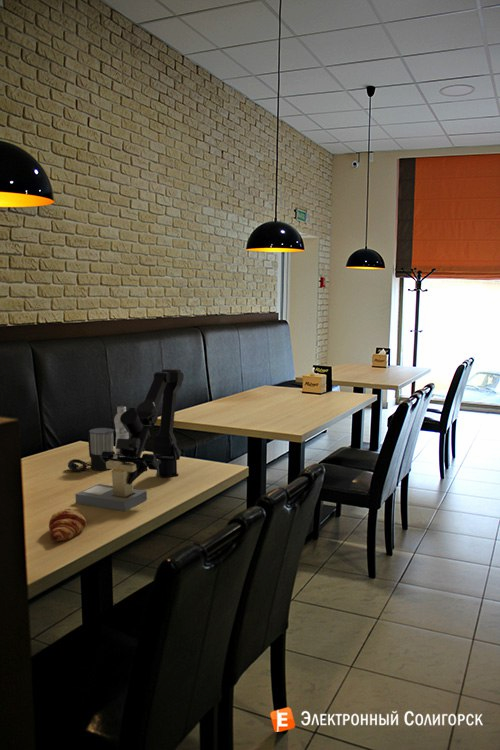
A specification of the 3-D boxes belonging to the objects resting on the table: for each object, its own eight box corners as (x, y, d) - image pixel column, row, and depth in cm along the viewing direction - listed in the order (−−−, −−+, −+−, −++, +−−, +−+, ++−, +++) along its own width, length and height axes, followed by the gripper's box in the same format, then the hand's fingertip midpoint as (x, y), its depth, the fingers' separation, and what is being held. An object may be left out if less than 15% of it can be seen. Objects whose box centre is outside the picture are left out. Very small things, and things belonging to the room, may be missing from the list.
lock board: (146, 499, 210) (146, 490, 210) (124, 511, 199) (124, 501, 199) (99, 492, 218) (99, 483, 217) (75, 503, 207) (75, 493, 207)
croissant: (69, 529, 194) (55, 507, 193) (98, 514, 193) (85, 491, 192) (47, 557, 172) (32, 531, 172) (79, 540, 172) (64, 514, 171)
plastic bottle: (117, 456, 265) (116, 408, 262) (113, 453, 271) (111, 406, 268) (132, 455, 268) (131, 407, 265) (128, 451, 274) (126, 405, 271)
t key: (115, 497, 210) (111, 458, 207) (141, 502, 206) (138, 462, 203) (107, 503, 206) (103, 463, 203) (133, 507, 202) (130, 467, 199)
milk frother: (120, 466, 250) (119, 429, 248) (89, 476, 237) (88, 437, 235) (93, 461, 258) (92, 425, 256) (63, 471, 244) (61, 432, 243)
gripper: (102, 426, 210) (85, 468, 201) (154, 429, 204) (139, 472, 195) (114, 444, 218) (99, 485, 209) (165, 448, 213) (151, 490, 204)
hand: (121, 483), depth 204 cm, fingers closed on t key, 5 cm apart
